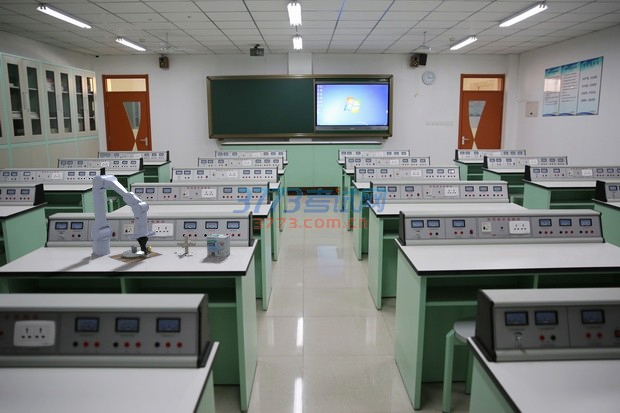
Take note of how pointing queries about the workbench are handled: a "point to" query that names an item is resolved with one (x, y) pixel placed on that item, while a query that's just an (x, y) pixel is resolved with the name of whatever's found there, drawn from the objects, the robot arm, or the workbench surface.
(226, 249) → the light bulb box
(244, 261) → the workbench surface
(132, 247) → the post
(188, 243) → the pipe connector
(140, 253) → the crank
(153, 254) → the base board
